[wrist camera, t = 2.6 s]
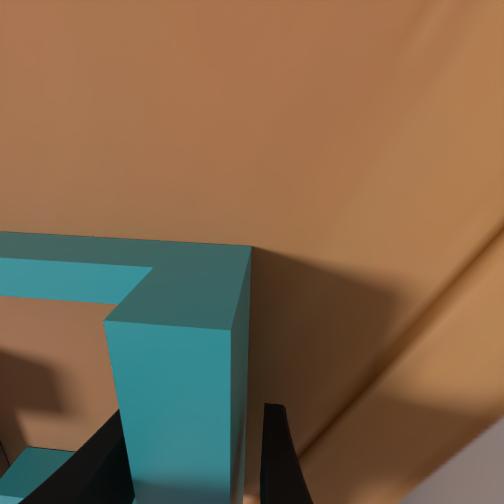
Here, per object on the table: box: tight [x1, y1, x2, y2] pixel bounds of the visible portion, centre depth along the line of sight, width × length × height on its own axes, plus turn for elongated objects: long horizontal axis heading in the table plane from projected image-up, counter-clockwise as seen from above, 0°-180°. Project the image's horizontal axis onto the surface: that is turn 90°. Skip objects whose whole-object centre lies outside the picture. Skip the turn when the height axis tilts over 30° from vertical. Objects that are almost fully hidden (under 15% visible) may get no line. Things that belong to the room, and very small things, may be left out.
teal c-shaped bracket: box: [0, 232, 252, 504], centre depth 10 cm, size 10×12×4 cm
